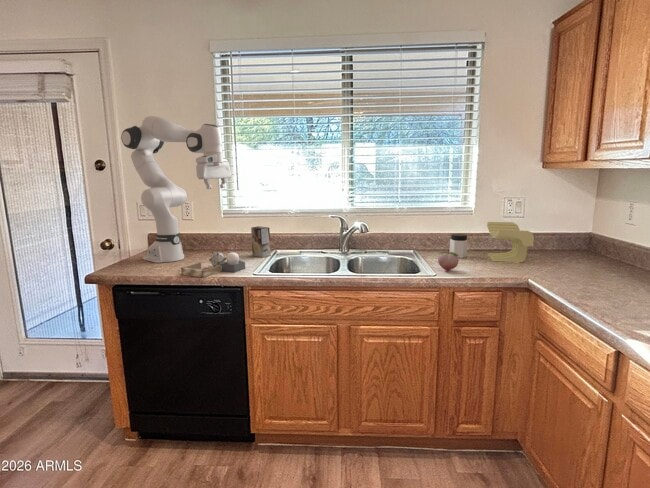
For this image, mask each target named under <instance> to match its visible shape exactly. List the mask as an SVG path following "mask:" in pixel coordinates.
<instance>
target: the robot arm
mask: <svg viewBox="0 0 650 488" xmlns="http://www.w3.org/2000/svg"><path fill="white" fill-rule="evenodd" d="M120 137H121V138H120V139H121V142H122V143H121V144H123V146H124V147H125V148H127V149H130V150H133V151H132V152H131V154H130V159H131V161H132V164H133V167H134V168H135V170H136V172H137V174H138V175H139V178H140V180H141V181H142V183H143V184H144V185H145V186H146V187H149V188H148V189H145V190H143V191H142V193H141V196H140V201H141V202H142V205H143V206H144V207H145V208H147V210H149V211H150V213H151V214H152V216H153V219H154V221H155V226H156V228H155V229H156V234H155V235H153V237H154V242H153V243H152V244H150V245H149V246H148V247H147V252H146V253H147V254H146V255H145V256H143V257H142V260H144V261H148V262H153V263H157V264H158V263H169V262H171V263H172V262H179V261H181V260H184V259H185V254H184V252H183V251H184V250H183V246H182V242H181V232H180V228H179V220H178V218H177V216H176V215H173V214H172V213H171V209H170V208H175V207H176V208H177V207H180V206H183V205H184V204H185V203H187V201H188V194H187V191H186V190H185V189H184V188H183V187H180V186H178V185H177V184H175V183H174V182H173V181H171V180H170V179H169V178H168V177H167V175H165V174H164V172H163V170H162V169H161V167H160V166H159V164H158V162H157V161H156V159H155V158H154V155H153V154H157V153H158V152H159V151H160V150H161V149H162V148H163V146H164V143H165V142H166V143H185V144H186V148H187V149H188V150H189V151H190V152H191V153H194V154H196V153H197V154H203V155H201V156H198V157H196V158H195V162H196V169H195V170H196V178H197V179H198V180H203V183H204V184H205V187H206V190H211V189H212V185H211V184H210V180H213V179H214V180H217V179H220V181H221V184H220V183H219V186H220V188H221V189H225V188H226V182H227V179H231V178H232V170H231V166H230V162H229V161H228V160H227V159H224V152H223V149H222V145H223V139H222V132H221V128H220V127H219V126H218V125H217V124H210V123H203V124H202V125H201V127H200V128H199V129H197V130H195V131H194V130H192V129H189V128H187V127H184V126H183V125H180V124H178V123H175V122H173V121H171V120H169V119H166V118H164V117H160V116H154V115H153V116H152V115H148V116H146V117H145V118H144V119H143V120H142V123H141V126H137V125H133V126H131V127H128V128H125V129H124V130H123V131H122V133H121V136H120Z"/></svg>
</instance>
